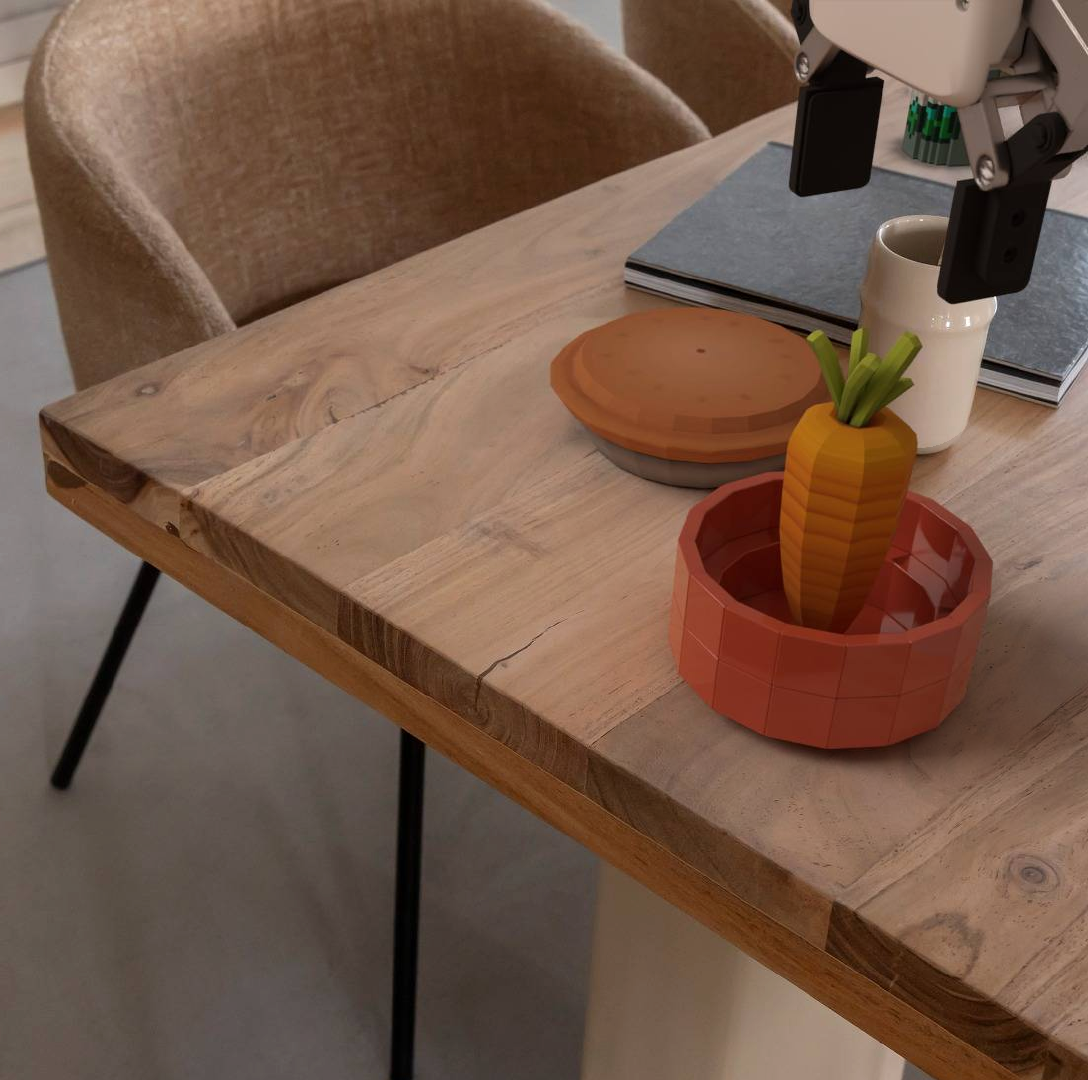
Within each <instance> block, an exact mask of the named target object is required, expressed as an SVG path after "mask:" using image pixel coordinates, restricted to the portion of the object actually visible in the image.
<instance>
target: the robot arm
mask: <svg viewBox="0 0 1088 1080" xmlns="http://www.w3.org/2000/svg"><path fill="white" fill-rule="evenodd" d="M789 11H790V12H789V13H790V16H791V19H792V21H793V25H794V29H795V32H796V36H797V39H798V42H799V44H800V46H799V48H798V49H797V51H796V53H795V55H794V58H793V71H794V76H795V78H796V80H797V82H799V83H800V84H807V83H808V85H804V86H803V85H802V86H799V88H798V97H797V98H798V100H797V107H796V114H795V115H796V116H795V124H794V134H793V141H792V142H793V143H792V151H791V159H790V169H789V177H788V178H789V179H788V189H789V190H790V192H792V193H793V194H795V195H796V196H798V197H799V198H807V197H813V196H821V195H827V194H833V193H839V192H845V191H851V190H858V189H862V188H864V187H866V186H868V184H869V183H870V180H871V177H872V176H871V175H872V168H873V164H874V163H873V162H874V156H875V150H876V142H877V136H878V129H879V122H880V114H881V108H882V100H883V94H884V86H885V80H884V78H883V79H882V78H881V77H879V76H870V77H869V76H868V77H867V75H871V74H872V73H873V72H874V71H875V70H878V71H880V72H881V73H883V74H885V75H887V76H888V77H890V78H893V79H894V80H896V81H898V82H900V83H902V84H904V85H906V86H908V87H910V88H911V89H912V88H913V89H915V90H917V91H919V92H921V93H923V94H925V95H927V96H929V97H931V98H933V99H935V100H937V101H939V102H941V103H944V104H946V105H950V106H954V107H956V108H957V112H958V116H959V121H960V125H961V129H962V133H963V137H964V141H965V145H966V149H967V153H968V157H969V161H970V169H971V174H972V177H971V178H966V179H959V180H956V183H955V188H954V191H953V196H952V201H951V206H950V211H949V212H950V213H949V217H948V223H947V228H946V233H945V239H944V244H943V250H942V256H941V261H940V267H939V271H938V277H937V284H936V293H937V296H938V297H939V298H940V299H942V300H943V301H945V302H946V303H947V304H949V305H958V304H963V303H970V302H974V301H980V300H985V299H991V298H996V297H1001V296H1005V295H1013V294H1017V293H1021V292H1023V290H1025V289H1026V288H1027V286H1028V285H1029V283H1030V280H1031V276H1032V272H1033V267H1034V263H1035V260H1036V259H1035V258H1036V254H1037V249H1038V245H1039V241H1040V236H1041V231H1042V227H1043V223H1044V219H1045V214H1046V210H1047V206H1048V202H1049V201H1048V200H1049V196H1050V192H1051V188H1052V183H1053V181H1057V180H1061V179H1065V178H1066V177H1067V176H1068V175H1069V173H1070V172H1071V170H1072V167H1073V164H1074V162H1076V161H1077V160H1079V159H1080V158H1081V157H1083V156H1084V155H1085V154H1087V153H1088V0H792V2H791V8H790V10H789ZM997 69H1000V70H1002V71H1004V72H1006V73H1008V74H1010V76H1003V77H996V78H989V79H987V77H988V73H989V70H997ZM1016 106H1018V109H1019V112H1020V117H1021V122H1022V124H1023V126H1022V127H1021V128H1019V129H1018V130H1017V131H1016V132H1014V133H1013V134H1012V135H1010V137H1008V138H1007V139H1006V136H1005V133H1004V129H1003V125H1002V120H1001V116H1000V113H999V109H1003V108H1009V107H1016Z"/></svg>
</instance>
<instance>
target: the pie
mask: <svg viewBox="0 0 1088 1080" xmlns="http://www.w3.org/2000/svg"><path fill="white" fill-rule="evenodd" d="M840 368H841V372H842V376H843V380H844V384H846V382H847V380H846V378H845V374H844V370H843V367H842V366H840ZM549 373H550V376H549V378H550V380H549V381H550V382H549V383H550V387H551V389H552V390H553V391H554V393H555V394H556V396H558V397H557V398H559V400H560V402H562V404H563V405H564V407H565V408H566V409H567V410H568V411H569V412H570V413H571V415H572V416H573V417H574V418H575V419H576V420H577V421H579V422H580V424H581V425H582V427H583V429H584V430H585V431H586V433H587V435H588V436H589V438H590V440H591V441H592V443H593V444H594V446H595V447H596V449H597V451H598V452H599V453H600V454H601V455H602V456H603V457H605V458H606V459H607V460H609V461H610V462H612V463H613V464H614V465H615V466H616V467H618V468H620V469H622V470H625V471H627V472H629V473H631V474H633V475H635V476H637V477H639V478H643V479H647V480H649V481H654V482H658V483H661V484H666V485H670V486H676V487H688V488H696V489H712V488H713V489H714V488H719V487H721V486H723V485H724V484H728V483H731V482H735V481H738V480H742V479H745V478H749V477H752V476H756V475H759V474H763V473H766V472H779V471H783V469H785V464H786V455H787V447H788V443H789V439H790V437H791V435H792V433H793V431H794V429H795V428H796V426H797V424H798V423H799V421H800V420H801V418H802V417H803V415H804V413H805V412H806V410H807V409H809V408H811V407H812V406H814V405H817V404H823V403H828V402H833V399H832V396H831V394H830V391H829V388H828V386H827V383H826V380H825V378H824V375H823V373H822V370H821V368H820V365H819V362H818V360H817V357H816V356H815V354H814V352H813V350H812V348H811V347H810V345H809V343H808V341H807V339H806V338H804V337H802V336H800V335H799V334H797V333H794V332H792V331H790V330H789V329H787V328H785V327H784V326H782V325H780V324H777V323H774V322H771V321H770V320H769V321H768V320H765V319H763V318H760V317H758V316H755V315H750V314H746V313H741V312H736V311H731V310H727V309H718V308H707V307H695V306H694V307H693V306H684V307H683V306H682V307H661V308H655V309H649V310H644V311H639V312H638V311H637V312H634V313H629V314H626V315H624V316H621V317H618V318H616V319H614V320H611V321H608V322H606V323H604V324H601V325H599V326H596V327H594V328H591V329H589V330H585V331H583V332H582V333H581V334H580V335H578V336H577V337H576V338H574V339H572V340H571V341H570V342H568V343H567V344H566V345H565V346H563V347H562V348H561V350H560V351H559V352H558V354H556V356H555V357H554V358H553V359H552V361H551V362H550V372H549Z"/></svg>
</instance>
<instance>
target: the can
mask: <svg viewBox="0 0 1088 1080" xmlns="http://www.w3.org/2000/svg"><path fill="white" fill-rule="evenodd" d="M1002 74H1003V71H1002V70H1000V69H997V70H989V73H988V77H987V79H989V78H996V77H1002ZM901 150H902V151H903V152H904V153H905V154H906V155H907V156H909V157H910V158H911V159H918V160H919V161H920V162H921V163H922V162H924V163H925V162H927V163H928V164H934V165H936V166H937V165H940V166H941V165H946V166H947V167H952V166H969V165H970V161H969V157H968V153H967V149H966V145H965V141H964V137H963V133H962V129H961V125H960V121H959V116H958V112H957V108H956V107H954V106H950V105H946V104H944V103H941V102H939V101H937V100H935V99H933V98H931V97H929V96H927V95H925V94H923V93H921V92H919V91H917V90H915V89H913V88H911V93H910V101H909V106H908V112H907V117H906V123H905V127H904V135H903V140H902V145H901ZM970 166H971V165H970Z"/></svg>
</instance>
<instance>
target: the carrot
mask: <svg viewBox="0 0 1088 1080" xmlns="http://www.w3.org/2000/svg"><path fill="white" fill-rule="evenodd" d="M805 339H806V340H807V341H808V343H809V345H810V347H811V348H812V350H813V352H814V354H815V356H816V357H817V360H818V362H819V365H820V368H821V370H822V373H823V375H824V378H825V380H826V383H827V386H828V388H829V391H830V394H831V396H832V399H833V402H828V403H823V404H817V405H814V406H812V407H811V408H809V409H807V410H806V412H805V413H804V415H803V417H802V418H801V420H800V421H799V423H798V424H797V426H796V428H795V429H794V431H793V433H792V435H791V437H790V439H789V443H788V447H787V455H786V464H785V467H784V471H785V472H784V481H783V490H782V503H781V515H780V528H779V529H780V548H781V563H782V573H783V583H784V590H785V593H786V597H787V600H788V603H789V607H790V610H791V614H792V616H793V618H794V620H795V623H796V625H797V626H801V627H806V628H811V629H816V630H821V631H827V632H832V633H837V634H842V635H843V634H844V633H845V632H846V631H847V630H848V628H849V627H850V626H851V624H852V623H853V621H854V620H855V619H856V617H857V616H858V614H859V613H860V612H861V610H862V609H863V607H864V604H865V602H866V600H867V598H868V596H869V594H870V591H871V589H872V587H873V585H874V583H875V581H876V578H877V576H878V574H879V572H880V570H881V568H882V565H883V563H884V561H885V558H886V556H887V554H888V551H889V549H890V546H891V544H892V541H893V539H894V537H895V534H896V531H897V528H898V524H899V520H900V517H901V513H902V510H903V506H904V502H905V499H906V495H907V491H908V490H909V487H910V482H911V479H912V474H913V470H914V466H915V463H916V462H915V461H916V457H917V454H918V444H919V443H918V435H917V434H918V433H916V431H914V430H913V428H912V427H911V426H910V425H909V424H908V423H907V422H905V421H904V420H903V419H902V418H901V417H900V416H899V415H897V414H896V413H895V412H894V411H893V410H892V409H890V408H889V407H888V405H889V404H891V403H893V401H895V400H896V399H898V398H899V397H900V396H901V395H903V394H904V393H906V392H907V391H908V390H910V389H911V388H912V387H914V386H915V383H914V382H913V380H912V378H909V377H903V375H904V374H905V372H906V371H907V370H908V368H909V367H910V366H911V365H912V363H913V362H914V360H915V359H916V358H917V356H918V354H919V353H920V351H921V350H922V349H923V347H924V346H923V344H922V342H921V340H920V338H919V336H918V335H917V334H915V333H912V332H910V331H905V332H903V333H901V335H900V337H899V338H897V340H896V342H895V343H894V345H892V347H891V348H890V350H889V351H888V352H887V354H886V356H885V357H884V359H882V358H881V357H880V356H879V355H878V354H876V353H872V352H868V349H869V339H870V330H869V329H868V328H866V327H865V328H864V327H861V328H858V329H856V330H855V331H853V332H852V336H851V341H850V342H851V344H850V353H849V362H848V371H847V380H846V384H844V380H843V376H842V372H841V368H842V367H841V365H840V361H839V356H838V354H837V352H836V349H835V348H834V346H833V343H832V342H831V340H830V339H829V338H828V336H827V335H826V333H824V331H822V330H821V329H816V330H814V331H813V332H811V333H810V334H809V335H808V336H806V338H805ZM840 367H841V368H840Z"/></svg>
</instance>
